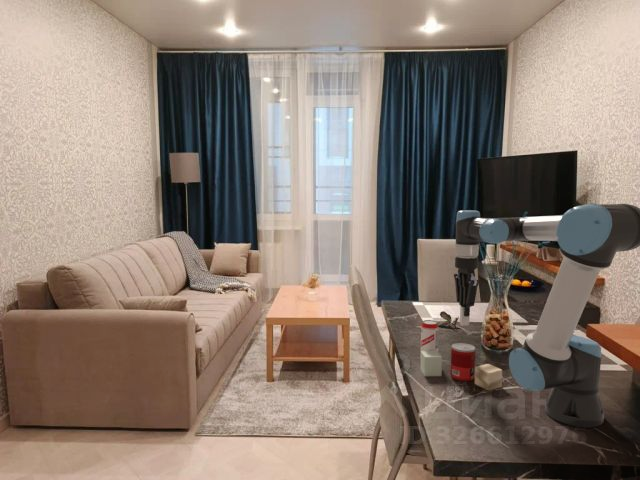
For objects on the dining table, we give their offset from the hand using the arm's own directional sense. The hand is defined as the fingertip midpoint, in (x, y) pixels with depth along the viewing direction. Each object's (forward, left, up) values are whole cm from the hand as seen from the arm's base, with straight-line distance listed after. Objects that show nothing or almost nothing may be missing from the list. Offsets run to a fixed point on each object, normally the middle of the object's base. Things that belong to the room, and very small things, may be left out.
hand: (464, 324), depth 166 cm
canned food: (0, 0, -19) cm, 19 cm away
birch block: (-8, -5, -19) cm, 21 cm away
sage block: (+6, +9, -19) cm, 22 cm away
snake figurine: (+56, -22, -19) cm, 63 cm away
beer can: (+14, +6, -19) cm, 24 cm away
